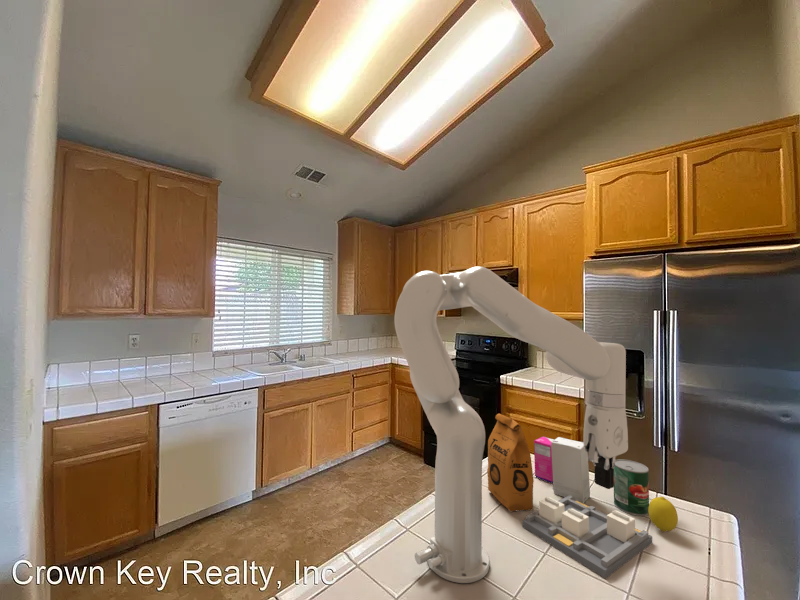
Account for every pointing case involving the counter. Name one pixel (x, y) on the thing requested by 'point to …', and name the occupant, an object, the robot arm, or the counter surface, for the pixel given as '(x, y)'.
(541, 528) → the switch board
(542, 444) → the supplement box
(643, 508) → the canned tomato
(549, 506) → the tab far
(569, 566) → the counter surface
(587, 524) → the tab middle
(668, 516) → the lemon
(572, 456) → the skincare box
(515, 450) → the coffee package
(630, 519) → the tab near
